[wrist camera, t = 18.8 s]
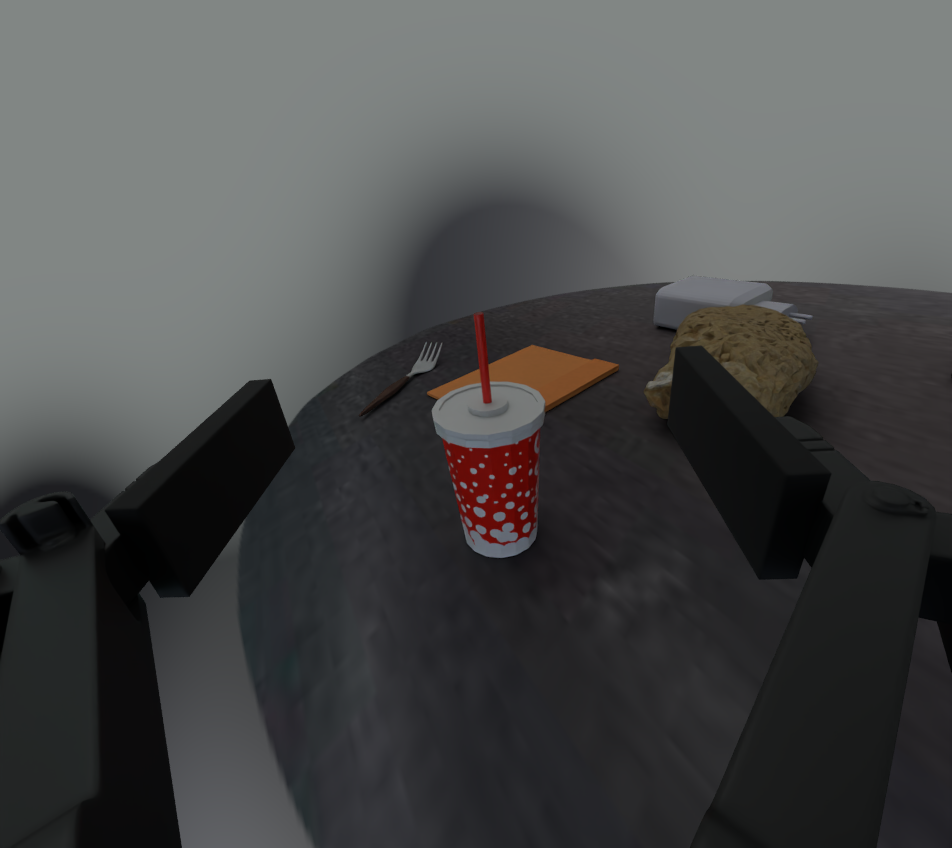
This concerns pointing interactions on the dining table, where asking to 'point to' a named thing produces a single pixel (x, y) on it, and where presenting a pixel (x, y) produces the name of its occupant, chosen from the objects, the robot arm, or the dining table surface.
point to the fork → (405, 378)
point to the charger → (713, 299)
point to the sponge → (745, 354)
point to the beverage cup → (493, 457)
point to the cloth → (540, 374)
